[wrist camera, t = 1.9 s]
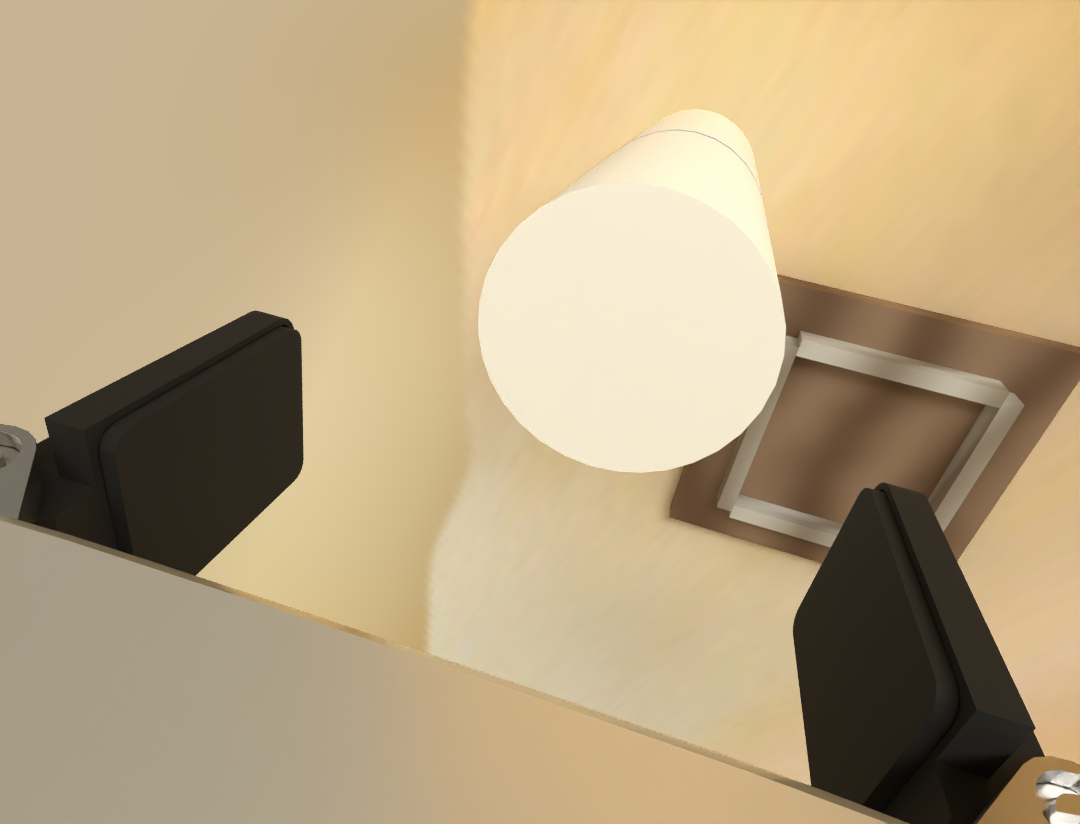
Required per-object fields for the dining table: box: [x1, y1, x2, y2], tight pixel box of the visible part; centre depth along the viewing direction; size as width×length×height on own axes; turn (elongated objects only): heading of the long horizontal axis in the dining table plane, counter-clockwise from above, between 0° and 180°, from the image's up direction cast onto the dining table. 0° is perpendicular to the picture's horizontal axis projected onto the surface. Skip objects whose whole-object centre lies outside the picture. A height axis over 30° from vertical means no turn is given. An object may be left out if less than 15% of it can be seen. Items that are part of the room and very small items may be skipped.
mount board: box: [669, 275, 1080, 563], centre depth 40 cm, size 18×18×3 cm
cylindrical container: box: [478, 109, 786, 473], centre depth 26 cm, size 7×7×25 cm
